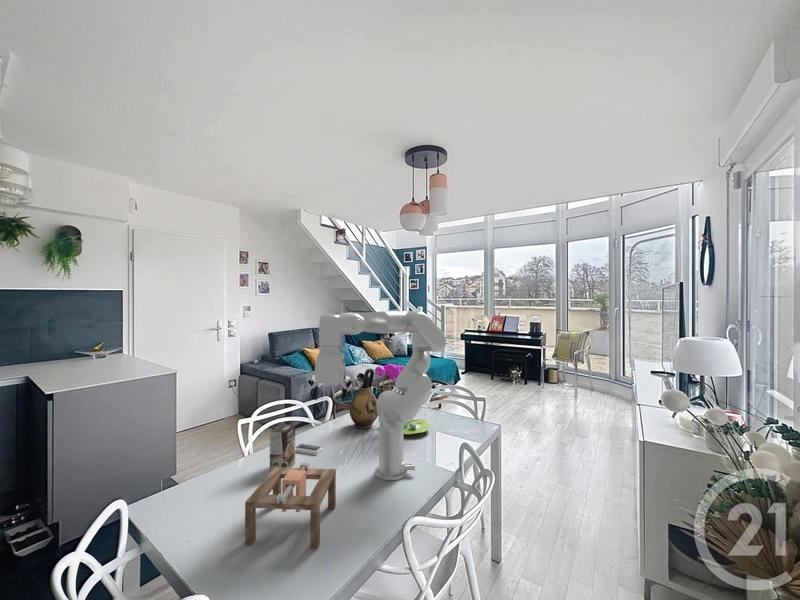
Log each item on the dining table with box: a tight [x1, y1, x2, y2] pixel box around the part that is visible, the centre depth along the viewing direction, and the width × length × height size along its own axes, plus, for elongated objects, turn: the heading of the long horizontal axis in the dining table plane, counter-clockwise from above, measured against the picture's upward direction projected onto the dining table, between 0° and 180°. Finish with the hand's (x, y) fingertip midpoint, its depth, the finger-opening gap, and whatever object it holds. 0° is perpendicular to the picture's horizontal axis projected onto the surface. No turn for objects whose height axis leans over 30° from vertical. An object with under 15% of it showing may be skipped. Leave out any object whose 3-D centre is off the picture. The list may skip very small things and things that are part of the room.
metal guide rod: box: [277, 462, 310, 504], centre depth 105 cm, size 2×20×2 cm, turn 176°
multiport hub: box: [295, 443, 323, 456], centre depth 156 cm, size 4×11×2 cm, turn 72°
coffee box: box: [269, 423, 296, 473], centre depth 140 cm, size 9×6×16 cm
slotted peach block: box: [281, 470, 307, 513], centre depth 105 cm, size 5×6×9 cm
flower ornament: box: [374, 363, 431, 435], centre depth 184 cm, size 30×28×35 cm
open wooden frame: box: [244, 467, 337, 550], centre depth 105 cm, size 20×20×12 cm
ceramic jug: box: [349, 368, 379, 430], centre depth 189 cm, size 17×15×30 cm
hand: (330, 399), depth 123 cm, fingers open, 9 cm apart
